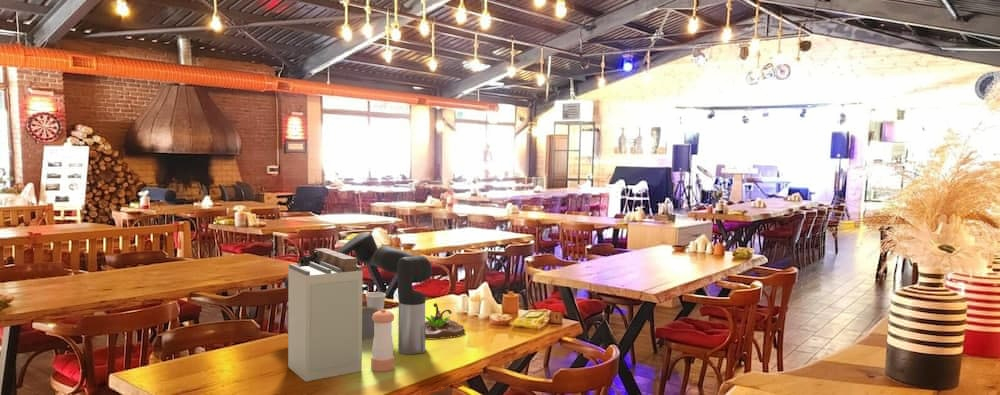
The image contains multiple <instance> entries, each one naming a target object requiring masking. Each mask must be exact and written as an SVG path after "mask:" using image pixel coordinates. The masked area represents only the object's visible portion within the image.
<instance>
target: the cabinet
mask: <svg viewBox="0 0 1000 395" xmlns="http://www.w3.org/2000/svg"><path fill="white" fill-rule="evenodd" d="M363 273H364V272H363V267H362V265H358V264H357V269H356V271H352V272H342V268H339V267H336V266H334V265H331V264H329V263H326V262H323V261H321V262H320V265H319V264H316V263H314V262H310V266H304V267H299V266H298V265H297V264H294V263H289V264H288V274H287V275H288V277H287V278H288V290H287V291H288V297H287V298H288V299H287V300H288V301H287V302H288V304H287V306H288V308H287V309H288V311H287V312H288V329H287V331H288V334H287V336H288V338H287V339H288V340H287V342H288V343H287V349H288V351H287V352H288V353H287V356H288V358H287V359H288V360H287V361H288V362H287V363H288V364H287V366H288V368H289V370H291V371H292V372H294V374H296V375H297V376H299V377H300V378H301V379H302V380H303V381H304V383H305V382H310V381H315V380H320V379H326V378H332V377H337V376H341V375H342V376H343V375H348V374H352V373H354V374H355V373H358V372H362V371H363V370H362V369H363V368H362V366H363V362H362V361H363V359H362V358H363V356H362V354H363V339H362V307H363Z"/></svg>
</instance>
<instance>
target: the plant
mask: <svg viewBox="0 0 1000 395" xmlns="http://www.w3.org/2000/svg"><path fill="white" fill-rule="evenodd" d="M433 307H434V308H435V315H434V316H433V315H432V314H430V317H428V316H425V319H427V320H425V322H426V338H438V339H442V338H441V337H445V338H452V337H453V338H455V337H454V336H457V337H459V336H458V335H460V336H462V335H464V334H463V333H466V332H465V331H466V330H465V328H464V325H462V324H460V323H459V322H457V321H455V320H451V319H450V318H451V316H450V315H452V313H453V312H452V310H451V309H445V310H443V311H442V312H441V311H440V310H439V307H438V303H436V302H434V303H433ZM446 312H448V314H450V315H449V316H445V318H444V313H446ZM461 334H462V335H461ZM451 336H452V337H451Z"/></svg>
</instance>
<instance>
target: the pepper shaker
mask: <svg viewBox="0 0 1000 395" xmlns="http://www.w3.org/2000/svg"><path fill="white" fill-rule="evenodd" d="M372 320H373V322H375V323H374V338H373V340H372V341H373V342H372V346H371V349H372V351H371V352H372V356H371V359H370V362H371V363H370V369H371V370H372V371H374V372H389V371H392V370H394V369H395V356H394V342H393V335H392V329H393V328H392V327H393V326H392V324H393V323H392V322H394V320H395V315H394V313H393V312H392V311H390V310H386V309H385V308H383V309H381V311H377V312H375V313H374V314H373V316H372Z"/></svg>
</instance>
